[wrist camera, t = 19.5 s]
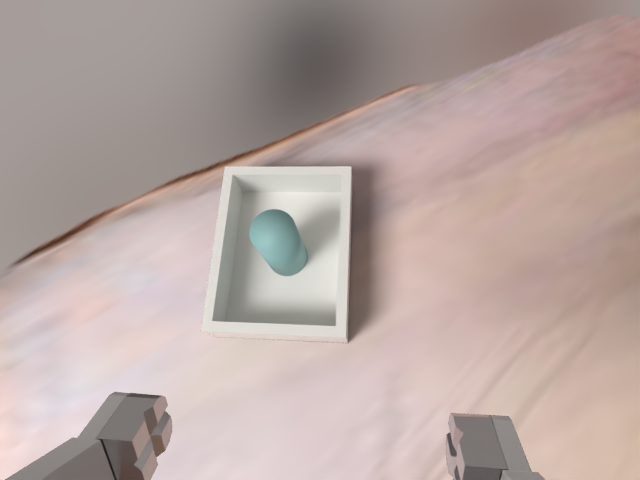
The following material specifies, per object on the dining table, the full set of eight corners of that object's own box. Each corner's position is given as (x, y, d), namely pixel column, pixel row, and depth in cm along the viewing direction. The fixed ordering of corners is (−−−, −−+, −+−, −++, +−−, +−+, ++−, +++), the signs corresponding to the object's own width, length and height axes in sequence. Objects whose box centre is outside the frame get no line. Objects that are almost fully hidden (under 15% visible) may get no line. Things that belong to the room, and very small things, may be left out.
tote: (352, 187, 49) (351, 166, 44) (347, 343, 43) (346, 337, 38) (237, 187, 51) (225, 166, 46) (217, 337, 44) (200, 331, 40)
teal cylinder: (308, 238, 46) (297, 208, 39) (306, 276, 45) (294, 253, 37) (269, 238, 47) (251, 209, 39) (266, 276, 45) (247, 253, 38)
